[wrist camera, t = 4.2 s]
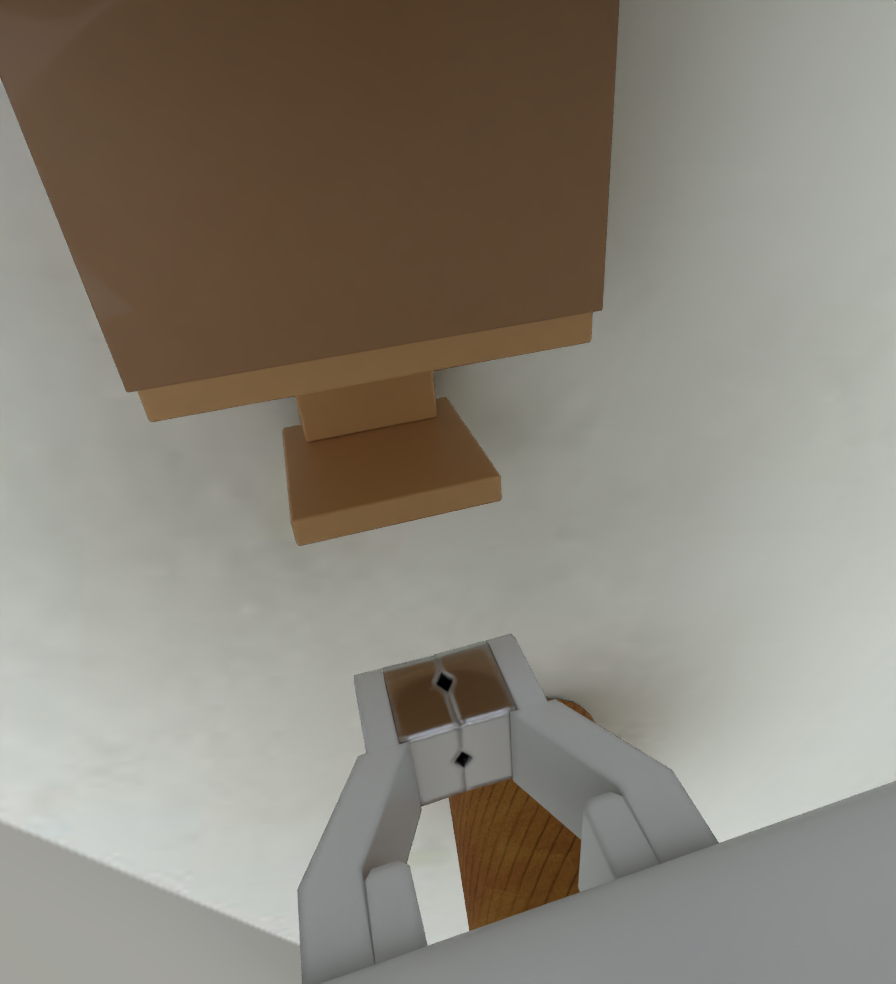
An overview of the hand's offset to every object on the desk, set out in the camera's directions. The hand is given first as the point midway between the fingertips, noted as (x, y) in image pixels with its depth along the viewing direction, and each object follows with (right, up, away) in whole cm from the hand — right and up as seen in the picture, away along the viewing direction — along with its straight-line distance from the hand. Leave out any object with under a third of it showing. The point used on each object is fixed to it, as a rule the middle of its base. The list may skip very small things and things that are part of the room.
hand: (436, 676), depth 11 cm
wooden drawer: (-2, +9, +2) cm, 9 cm away
